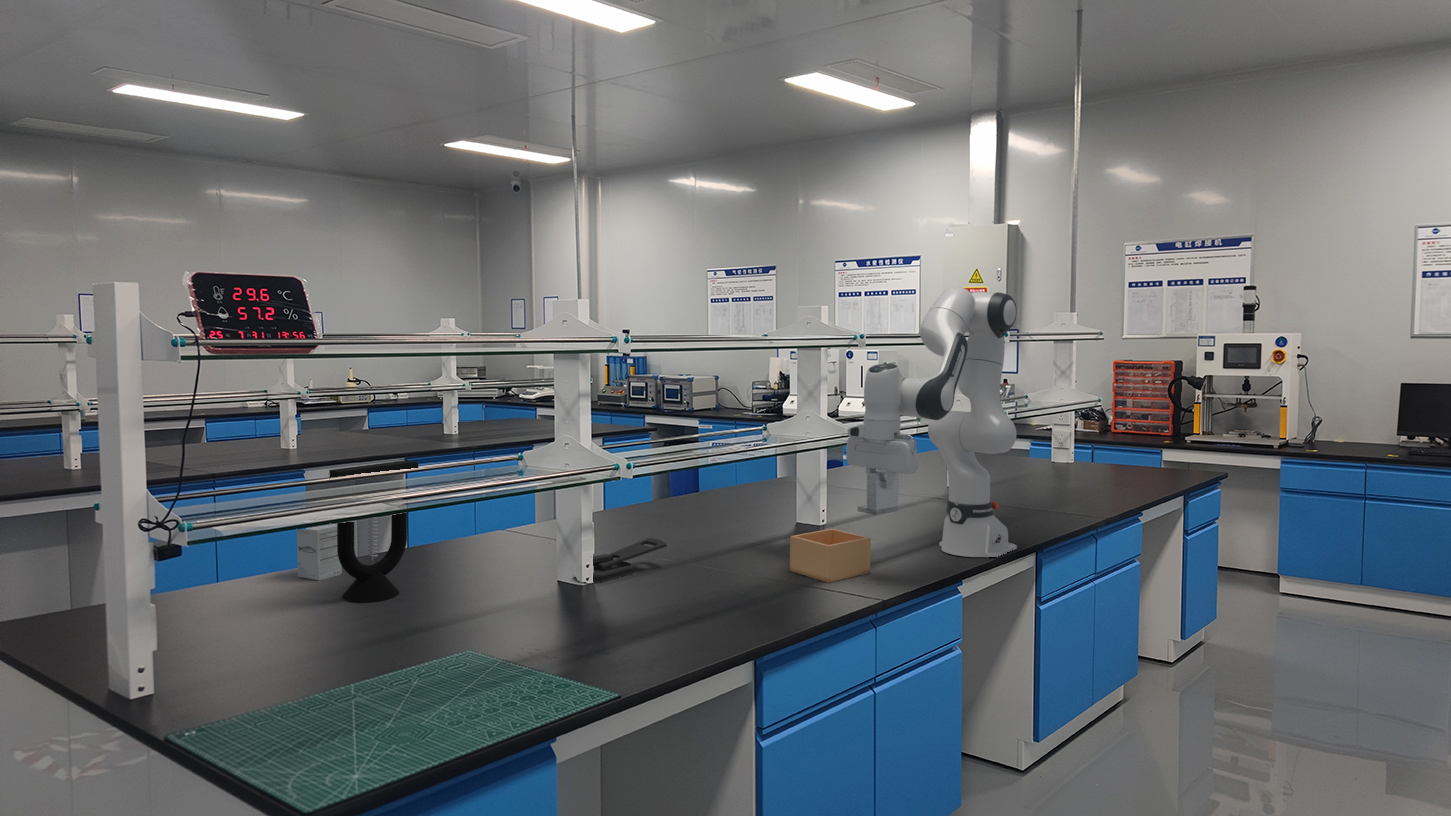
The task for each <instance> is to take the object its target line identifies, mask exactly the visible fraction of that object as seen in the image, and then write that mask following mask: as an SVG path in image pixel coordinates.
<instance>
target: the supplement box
mask: <svg viewBox="0 0 1451 816" xmlns="http://www.w3.org/2000/svg"><path fill="white" fill-rule="evenodd" d="M331 524H332V525H325V526H319V527H312V528H306V529H301V530H297V529H296V545H297V546H296V548H297V550H296V551H297V557H296V558H297V578H303V579H310V580H314V581H318V582H319V581H323V580H327V579H330V578H333V577H337V576H339V575H342V574H343V573H342V572H343V571H342V569H343V567H342V566H341V564H340V561H339V558H338V553H337V524H334V523H331Z"/></svg>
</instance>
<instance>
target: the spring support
mask: <svg viewBox="0 0 1451 816" xmlns="http://www.w3.org/2000/svg"><path fill="white" fill-rule="evenodd" d="M411 468H419V463H418V462H417V461H413V460H406V459H405V460H398V461H397V460H396V461H389V462H383V463H382V462H381V463H375V464H366V465H357V466H350V467H342V468H336V469H335V468H334V469H329V472H328V473H329V479H330V478H331V477H338V476H346V475H354V474H361V473H371V472H380V471H389V470H400V469H411ZM390 516H391V515H390ZM373 518H374V519H371V518H369V519H368V522H369V523H368V529H369V530H368V537H369V538H368V541H369V542H368V545H369V546H368V548H369V549H368V556H370V557H371V558H370V561H369V562H368V564H365V563H362V562H360V561H359V559H358V557H357V555H356V552H355V521H354V522H346V523H338V524H337V523H336V525H337V553H338V558H339V561H340V564H341V566H342V569H343V570H344V571H345V572H346V573H347V574H348V575H349V576H351V577H352V578H354V579H355V580H354V581H353V582H352V583H351V585H350V586H349V587H348V588H347V589H346V590H345V591H344V593H343V594H342V596H341V597H342V599H343V600H345V601H348V602H353V603H373V602H375V603H376V602H381V601H382V602H383V601H386V600H387V601H388V600H390V599H393V598H396V597H397V596H399V594H400V590H399V589H398V588H397V586H395V585H394V584H393V583H392V582H391V581H390V579H389V578H388V577H387V576H386V575H388V574H389V573H390V572H392V571H393V570H394V568H396V567H397V566H398V564H399V563H400V561H401V559H402V557H403V555H404V553H405V550H406V546H407V542H408V540H407V539H408V512H407V513H402V514H396V515H392V516H391V517H390V518H391V519H390V520H391V521H390V525H391V526H390V527H391V528H390V530H391V532H390V533H391V534H390V535H391V537H390V545H389V547H388V550H387V551H386V553H385V555H384V556H383V557H382V558H381V559H380V560H378V561H377V559H375V558H376V557H379V555H378V554H377V553H379V551H378V549H379V547H377V546H378V545H379V543H377V542H379V540H378V539H376V538H378V537H379V536H378V534H379V532H373V531H379V529H378V528H376V527H379V525H378V524H377V523H379V522H378V521H377V520H378V519H379V517H377V518H376V517H373ZM375 520H376V521H375ZM374 527H375V528H374ZM375 535H376V536H375ZM375 542H376V543H375ZM373 561H375V563H373V564H370V562H373Z"/></svg>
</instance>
